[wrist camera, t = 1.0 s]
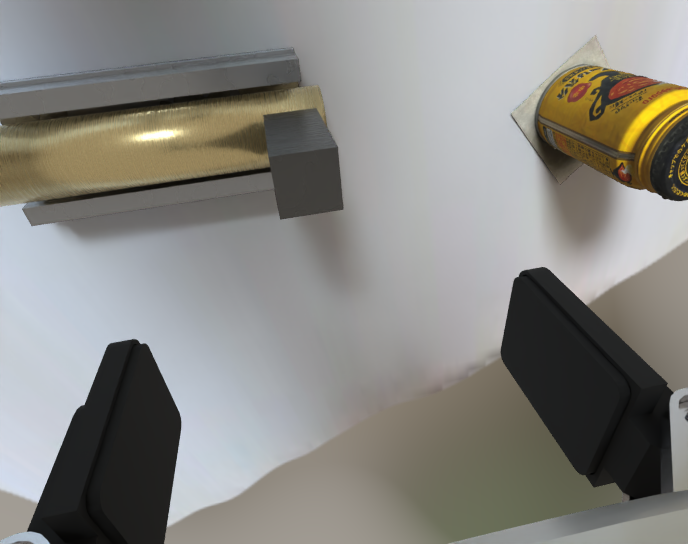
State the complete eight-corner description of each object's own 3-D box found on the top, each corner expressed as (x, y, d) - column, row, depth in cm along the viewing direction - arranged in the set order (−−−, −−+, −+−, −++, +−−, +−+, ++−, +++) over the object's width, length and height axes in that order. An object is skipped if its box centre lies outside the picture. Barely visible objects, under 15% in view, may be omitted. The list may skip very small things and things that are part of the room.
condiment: (593, 34, 30) (759, 60, 20) (634, 119, 34) (787, 174, 25) (509, 112, 32) (623, 170, 22) (557, 183, 36) (670, 257, 27)
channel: (-12, 83, 25) (-43, 95, 22) (292, 47, 27) (297, 54, 24) (52, 206, 30) (33, 228, 27) (309, 168, 32) (314, 185, 29)
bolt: (-21, 120, 25) (-175, 202, 16) (313, 78, 27) (347, 129, 18) (18, 189, 28) (-96, 294, 19) (321, 146, 30) (354, 220, 21)
